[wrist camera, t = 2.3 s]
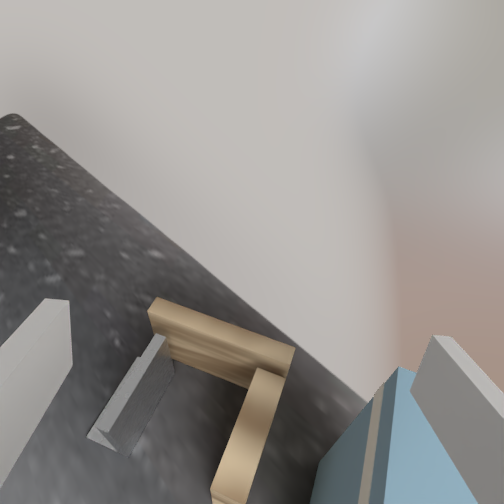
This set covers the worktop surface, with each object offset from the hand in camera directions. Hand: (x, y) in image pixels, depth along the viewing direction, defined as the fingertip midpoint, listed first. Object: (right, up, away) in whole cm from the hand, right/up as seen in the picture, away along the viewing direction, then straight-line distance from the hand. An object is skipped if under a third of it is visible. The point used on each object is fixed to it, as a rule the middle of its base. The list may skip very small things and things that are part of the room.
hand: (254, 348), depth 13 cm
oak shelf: (-6, -15, +28) cm, 33 cm away
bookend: (-14, -14, +29) cm, 35 cm away
